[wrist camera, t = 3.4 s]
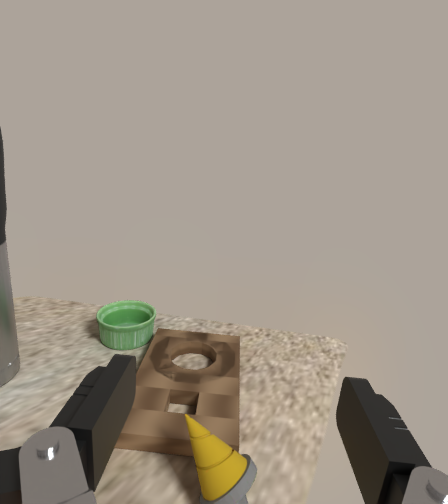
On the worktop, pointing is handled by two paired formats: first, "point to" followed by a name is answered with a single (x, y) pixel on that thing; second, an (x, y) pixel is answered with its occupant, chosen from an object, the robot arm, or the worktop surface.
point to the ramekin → (126, 324)
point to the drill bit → (219, 467)
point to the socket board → (184, 393)
